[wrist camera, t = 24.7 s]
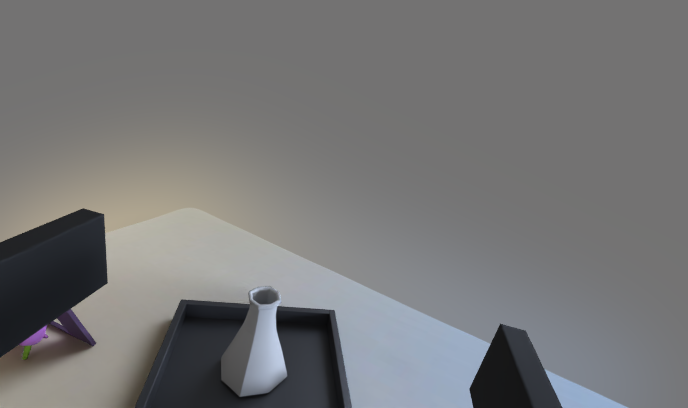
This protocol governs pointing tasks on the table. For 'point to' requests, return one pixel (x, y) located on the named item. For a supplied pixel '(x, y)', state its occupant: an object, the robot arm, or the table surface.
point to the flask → (256, 348)
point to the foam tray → (214, 338)
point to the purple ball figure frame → (69, 326)
